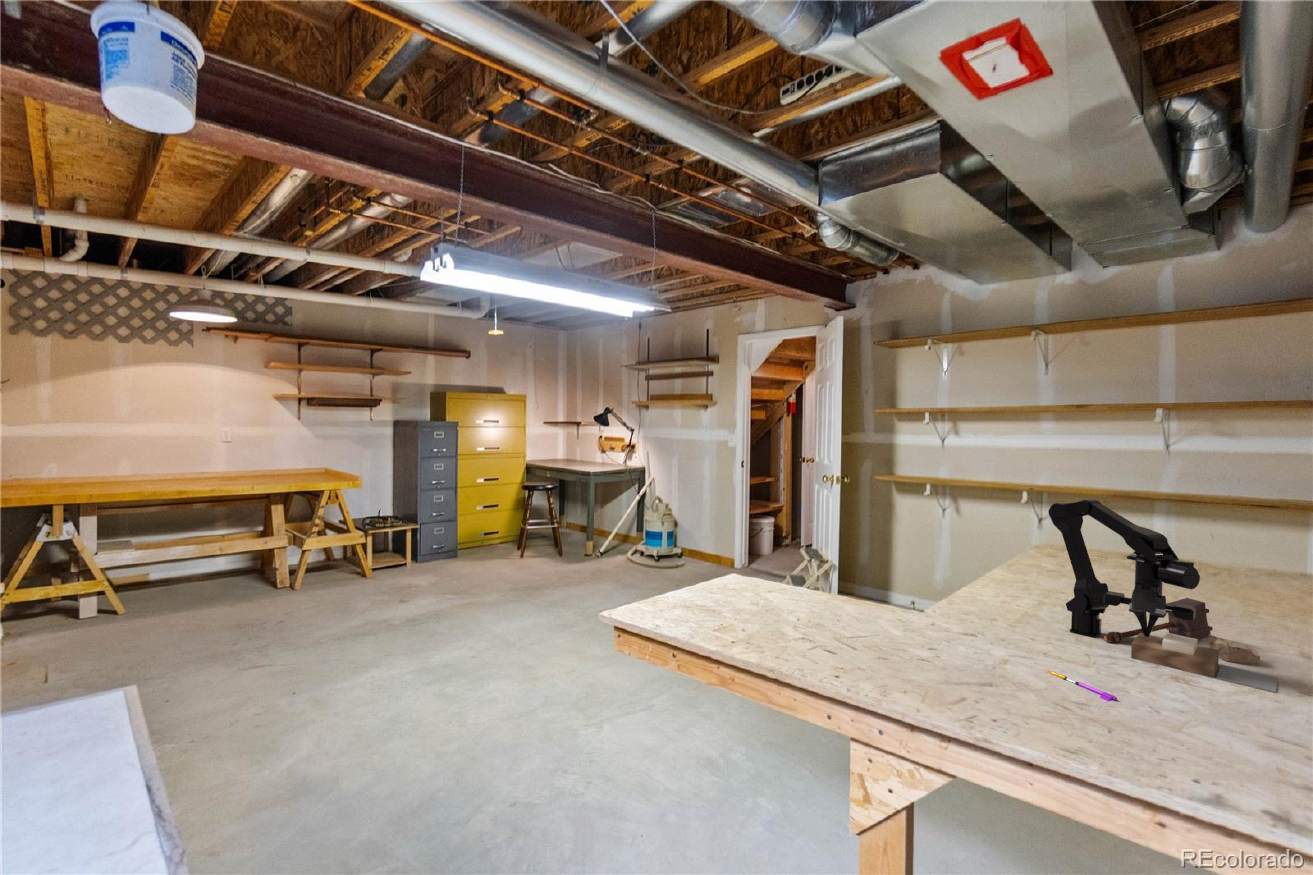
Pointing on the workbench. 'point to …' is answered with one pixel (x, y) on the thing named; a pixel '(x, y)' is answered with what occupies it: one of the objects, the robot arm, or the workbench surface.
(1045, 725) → the workbench surface
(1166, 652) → the plate
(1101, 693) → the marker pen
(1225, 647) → the stone
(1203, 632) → the hammer
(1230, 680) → the mat
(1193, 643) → the cream rectangular block
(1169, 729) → the workbench surface
